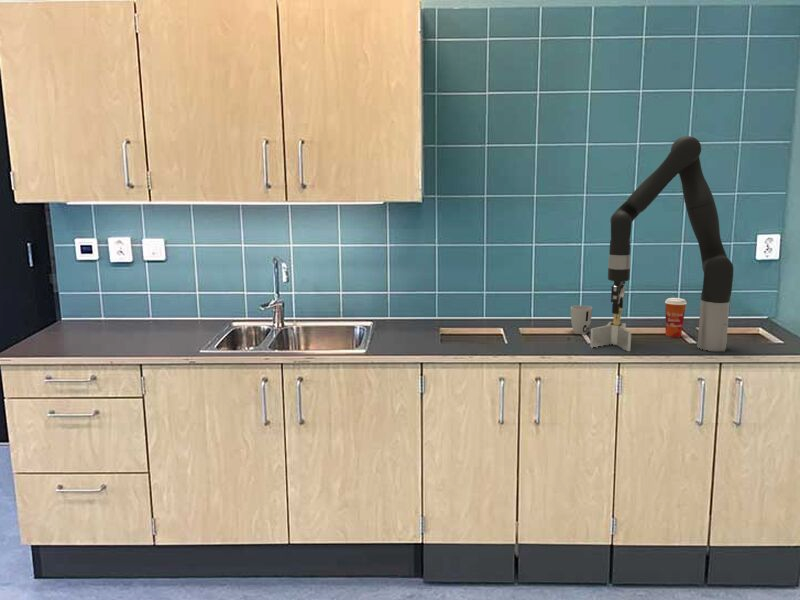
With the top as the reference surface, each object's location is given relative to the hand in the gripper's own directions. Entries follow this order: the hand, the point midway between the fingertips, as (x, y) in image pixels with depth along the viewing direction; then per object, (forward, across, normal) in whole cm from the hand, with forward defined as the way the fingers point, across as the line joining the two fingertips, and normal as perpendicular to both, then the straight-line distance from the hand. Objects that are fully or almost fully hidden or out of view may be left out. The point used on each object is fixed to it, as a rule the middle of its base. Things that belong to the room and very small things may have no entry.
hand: (617, 311), depth 261 cm
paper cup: (+12, +21, -18) cm, 30 cm away
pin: (+12, 0, 0) cm, 12 cm away
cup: (+12, +11, +15) cm, 22 cm away
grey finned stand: (+12, -4, 0) cm, 13 cm away
